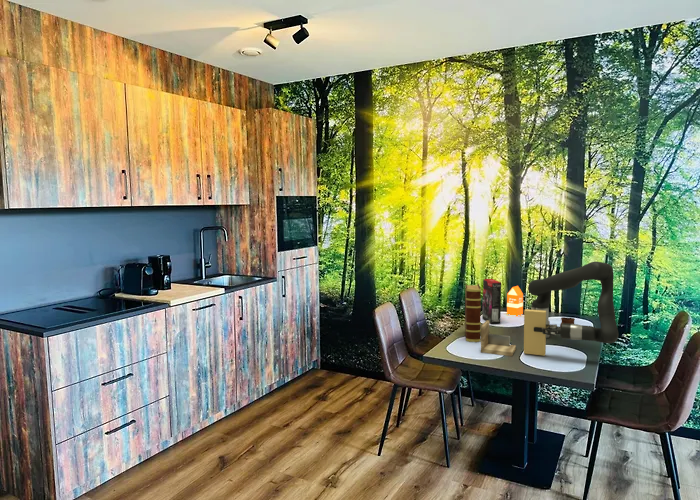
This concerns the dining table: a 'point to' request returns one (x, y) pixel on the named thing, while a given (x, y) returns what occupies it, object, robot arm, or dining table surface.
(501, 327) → the dining table surface
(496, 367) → the dining table surface
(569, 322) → the ceramic pot
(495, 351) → the wooden l-shaped piece
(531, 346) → the book
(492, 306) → the graphics card box
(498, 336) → the grey flat panel
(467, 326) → the decorative book
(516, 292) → the orange juice
